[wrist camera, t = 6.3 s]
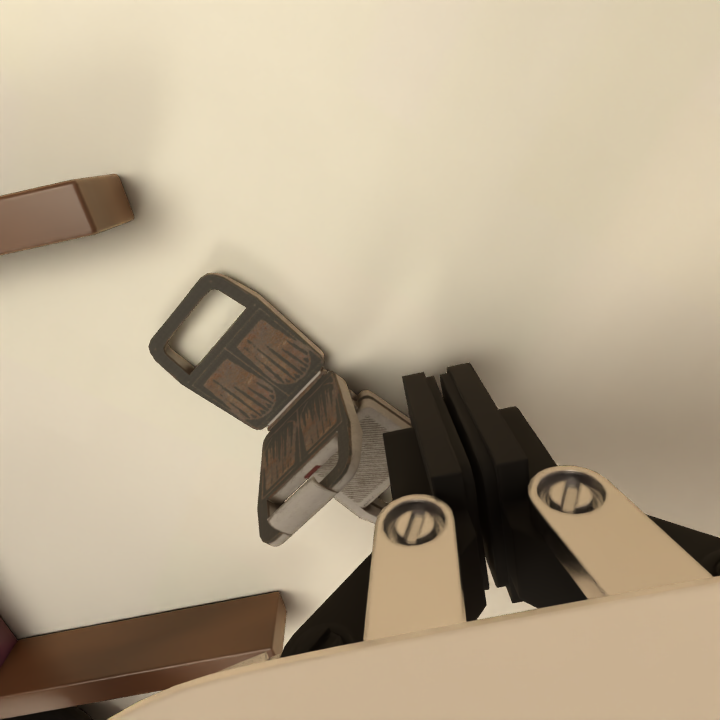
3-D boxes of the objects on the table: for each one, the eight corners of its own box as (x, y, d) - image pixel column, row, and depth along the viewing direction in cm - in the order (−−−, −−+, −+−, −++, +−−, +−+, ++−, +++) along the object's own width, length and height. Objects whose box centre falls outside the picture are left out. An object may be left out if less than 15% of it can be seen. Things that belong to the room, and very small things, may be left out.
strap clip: (459, 454, 14) (508, 572, 10) (387, 517, 15) (407, 649, 11) (217, 257, 11) (158, 315, 8) (145, 346, 12) (58, 440, 8)
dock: (119, 172, 11) (74, 178, 9) (287, 611, 16) (281, 670, 14) (-305, 268, 11) (-433, 293, 9) (4, 663, 17) (-37, 727, 15)
